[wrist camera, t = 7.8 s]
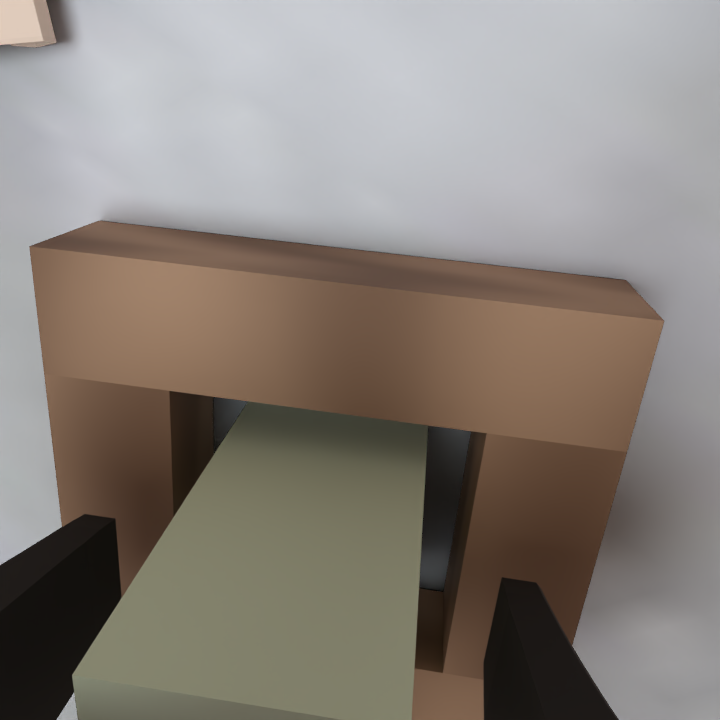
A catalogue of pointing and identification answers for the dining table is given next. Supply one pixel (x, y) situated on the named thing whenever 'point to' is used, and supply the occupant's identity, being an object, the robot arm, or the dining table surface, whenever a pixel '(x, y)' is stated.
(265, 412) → the peg
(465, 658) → the socket block
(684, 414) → the dining table surface
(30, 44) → the newspaper
